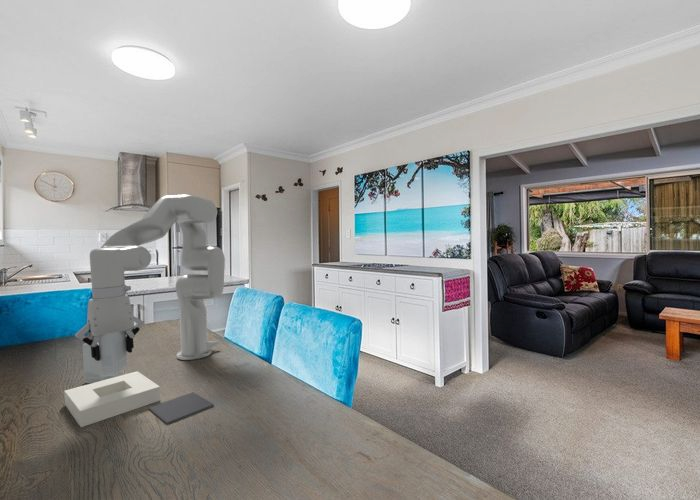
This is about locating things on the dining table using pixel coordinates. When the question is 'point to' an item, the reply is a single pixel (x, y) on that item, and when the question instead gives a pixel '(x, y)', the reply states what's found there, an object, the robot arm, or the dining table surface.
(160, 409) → the rubber mat
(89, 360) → the supplement box
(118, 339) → the skincare box
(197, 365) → the dining table surface
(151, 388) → the bore holder
